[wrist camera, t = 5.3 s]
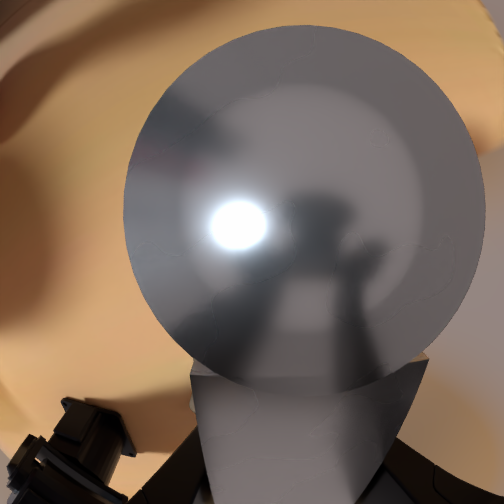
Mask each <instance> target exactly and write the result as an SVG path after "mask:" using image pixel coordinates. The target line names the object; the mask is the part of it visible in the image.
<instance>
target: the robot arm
mask: <svg viewBox="0 0 504 504" xmlns="http://www.w3.org/2000/svg"><path fill="white" fill-rule="evenodd" d="M61 404H62V406H63V408H64V410H65V412H66V413H65V414H64V415H63V417H62V418H61V420H60V421H59V422H58V424H57V425H56V427H55V428H54V430H53V431H54V434H53V435H52V437H51V438H50V440H49V441H48V442H47V441H46V439H45V438H43V437H42V436H41V435H40V436H39V437H38V438H37V437H35V436H33V435H31V434H29V435H28V436H27V437H26V439H25V440H24V442H23V443H22V444H21V446H20V447H19V449H18V450H17V452H16V453H15V454H14V456H13V458H12V459H11V461H10V462H9V464H8V466H7V470H8V473H9V477H8V479H9V481H8V483H7V487H8V488H10V490H12V493H11V495H10V497H9V498H8V500H7V504H214V500H213V496H212V492H211V488H210V483H209V479H208V475H207V470H206V466H205V461H204V456H203V451H202V446H201V441H200V436H199V430H198V425H197V426H196V427H195V429H194V430H193V431H192V432H191V433H190V434H189V436H188V437H187V438H186V439H185V440H184V441H183V443H182V444H181V445H180V446H179V447H178V448H177V449H176V451H175V452H174V453H173V454H172V455H171V456H170V457H169V458H168V460H167V461H166V462H165V463H164V464H163V465H162V466H161V467H160V468H159V470H158V471H157V472H156V473H155V474H154V475H153V476H152V477H151V478H150V479H149V480H148V481H147V482H146V483H145V485H144V486H143V487H142V490H141V489H140V490H139V491H138V492H137V493H136V494H135V495H134V496H133V497H132V498H131V499H130V500H129V501H128V497H127V496H126V495H124V494H120V493H119V492H117V491H115V490H113V489H112V488H110V487H108V485H109V482H110V480H111V478H112V475H113V473H114V470H115V468H116V465H117V463H118V461H119V458H120V456H121V455H125V456H130V457H136V455H137V452H136V450H135V448H134V446H133V444H132V441H131V439H130V437H129V435H128V432H127V430H126V427H125V425H124V423H123V420H122V418H121V416H120V414H118V413H117V412H114V411H110V410H106V409H101V408H98V407H94V406H90V405H86V404H83V403H80V402H76V401H73V400H70V399H67V398H63V399H62V400H61ZM35 457H36V458H37V459H39V460H40V461H41V462H40V463H39V462H38V461H36V460H35ZM355 504H504V497H503V496H499V495H496V494H493V493H490V492H488V491H485V490H483V489H481V488H478V487H476V486H474V485H471V484H469V483H467V482H465V481H463V480H461V479H459V478H457V477H455V476H453V475H452V474H450V473H448V472H447V471H445V470H444V469H442V468H440V467H439V466H437V465H435V464H434V463H433V462H431V461H430V460H428V459H427V458H425V457H424V456H422V455H421V454H420V453H418V452H416V451H415V450H414V449H412V448H411V447H409V446H408V445H406V444H405V443H404V442H402V441H401V440H400V439H398V438H397V437H396V438H395V440H394V442H393V444H392V445H391V447H390V449H389V451H388V453H387V454H386V456H385V458H384V460H383V461H382V463H381V465H380V466H379V468H378V470H377V471H376V473H375V474H374V476H373V477H372V479H371V481H370V482H369V484H368V485H367V487H366V488H365V490H364V491H363V492H362V494H361V495H360V497H359V498H358V499H357V501H356V502H355Z"/></svg>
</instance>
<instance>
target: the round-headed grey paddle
mask: <svg viewBox="0 0 504 504" xmlns="http://www.w3.org/2000/svg"><path fill="white" fill-rule="evenodd" d="M123 221H124V230H125V239H126V246H127V250H128V254H129V258H130V262H131V266H132V269H133V273H134V275H135V278H136V280H137V283H138V285H139V287H140V290H141V292H142V294H143V296H144V298H145V300H146V302H147V303H148V305H149V307H150V308H151V310H152V312H153V313H154V315H155V317H156V318H157V320H158V321H159V322H160V324H161V325H162V326H163V327H164V329H165V330H166V331H167V332H168V334H169V335H170V336H171V337H172V338H173V340H174V341H175V342H177V343H178V344H179V345H180V346H181V347H182V348H183V349H184V350H185V351H186V352H187V353H188V354H189V355H190V356H192V357H193V358H194V362H193V366H192V369H191V372H190V380H191V387H192V394H193V401H194V407H195V413H196V419H197V425H198V430H199V436H200V441H201V446H202V451H203V456H204V461H205V466H206V470H207V475H208V479H209V483H210V488H211V492H212V496H213V500H214V504H355V502H356V501H357V499H358V498H359V497H360V495H361V494H362V492H363V491H364V490H365V488H366V487H367V485H368V484H369V482H370V481H371V479H372V477H373V476H374V474H375V473H376V471H377V470H378V468H379V466H380V465H381V463H382V461H383V460H384V458H385V456H386V454H387V453H388V451H389V449H390V447H391V445H392V444H393V442H394V440H395V438H396V436H397V434H398V432H399V430H400V428H401V426H402V424H403V422H404V420H405V418H406V416H407V414H408V411H409V409H410V407H411V405H412V402H413V400H414V398H415V395H416V393H417V390H418V388H419V385H420V383H421V380H422V378H423V375H424V372H425V369H426V367H427V364H428V361H429V358H428V357H427V356H426V355H425V354H424V353H423V352H422V351H423V350H424V349H425V348H427V347H428V346H429V345H430V344H431V343H432V342H433V341H434V340H435V339H436V337H437V336H438V335H439V334H440V333H441V332H442V331H443V329H444V328H445V327H446V326H447V324H448V323H449V322H450V320H451V319H452V317H453V316H454V314H455V313H456V311H457V310H458V308H459V306H460V305H461V303H462V301H463V299H464V297H465V295H466V293H467V291H468V289H469V287H470V284H471V282H472V279H473V277H474V274H475V272H476V268H477V265H478V261H479V258H480V254H481V249H482V243H483V237H484V230H485V193H484V184H483V178H482V173H481V168H480V164H479V160H478V157H477V154H476V151H475V148H474V145H473V142H472V140H471V137H470V135H469V133H468V131H467V129H466V126H465V124H464V122H463V121H462V119H461V117H460V116H459V114H458V112H457V111H456V109H455V107H454V106H453V104H452V103H451V102H450V100H449V99H448V98H447V96H446V95H445V94H444V93H443V91H442V90H441V89H440V88H439V86H438V85H437V84H436V83H435V82H434V81H433V80H432V79H431V78H430V77H429V76H428V75H427V74H426V73H425V72H424V71H423V70H421V69H420V68H419V67H418V66H416V65H415V64H414V63H413V62H411V61H410V60H409V59H407V58H406V57H404V56H403V55H402V54H400V53H398V52H397V51H395V50H393V49H391V48H390V47H388V46H386V45H384V44H382V43H380V42H378V41H376V40H373V39H371V38H368V37H366V36H363V35H360V34H357V33H354V32H350V31H346V30H342V29H337V28H332V27H323V26H313V25H298V26H282V27H276V28H271V29H266V30H261V31H257V32H254V33H251V34H248V35H245V36H242V37H239V38H237V39H234V40H232V41H230V42H228V43H226V44H224V45H222V46H220V47H218V48H216V49H215V50H213V51H211V52H209V53H208V54H206V55H205V56H204V57H202V58H201V59H199V60H198V61H197V62H195V63H194V64H193V65H191V66H190V67H189V68H188V69H186V70H185V71H184V72H183V73H182V74H181V75H180V76H179V77H178V78H177V79H176V80H175V81H174V82H173V83H172V85H171V86H170V87H169V88H168V89H167V90H166V91H165V93H164V94H163V95H162V97H161V98H160V100H159V101H158V102H157V104H156V105H155V107H154V108H153V109H152V111H151V112H150V114H149V116H148V118H147V120H146V122H145V124H144V126H143V128H142V130H141V132H140V134H139V136H138V138H137V141H136V144H135V147H134V150H133V153H132V156H131V159H130V162H129V166H128V172H127V177H126V183H125V189H124V210H123Z"/></svg>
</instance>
